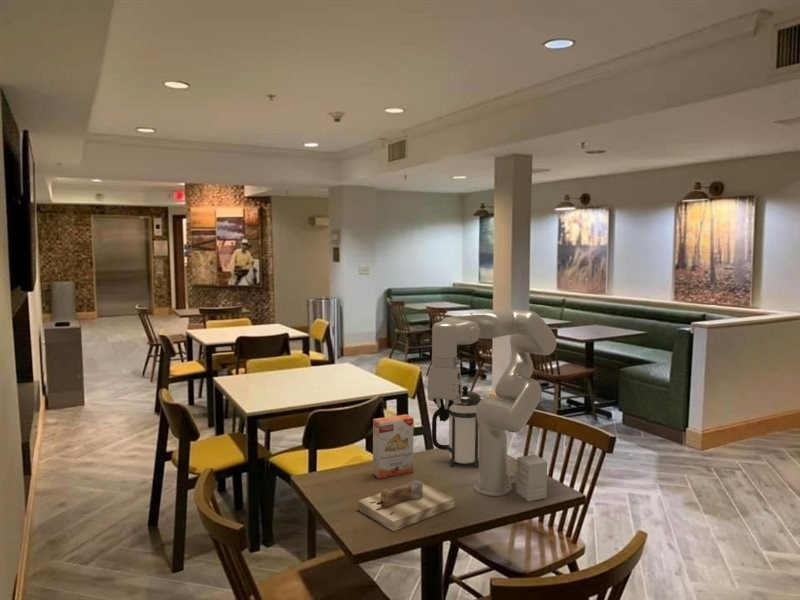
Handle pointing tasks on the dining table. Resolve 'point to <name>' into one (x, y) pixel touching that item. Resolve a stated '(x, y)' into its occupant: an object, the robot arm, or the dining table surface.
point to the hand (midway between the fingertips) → (443, 420)
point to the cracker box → (392, 446)
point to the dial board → (407, 508)
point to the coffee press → (461, 430)
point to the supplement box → (532, 477)
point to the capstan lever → (401, 493)
